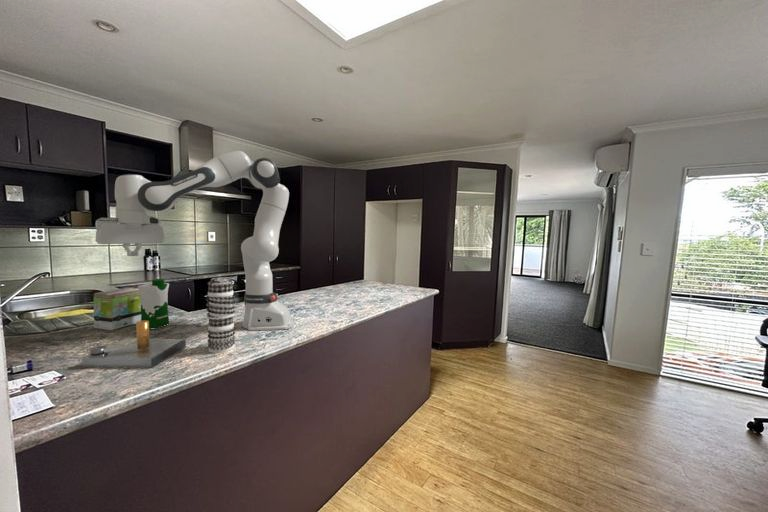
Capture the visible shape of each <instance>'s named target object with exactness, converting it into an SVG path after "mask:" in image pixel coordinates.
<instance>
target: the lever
mask: <svg viewBox="0 0 768 512" xmlns="http://www.w3.org/2000/svg"><path fill="white" fill-rule="evenodd" d="M135 326H136V327H135V330H136V339H137V344H130V345H121V346H112V347H107V346H106V345H104V346H103V345H99V346H94V347H92V348H90V350H89V352H90V353H89V354H90V355H99V354H103V353H105V352H112V351H121V350H129V349H146V348H149V347H150V339H151V338H150V329H149V321H148V320H144V321H138V322H136V324H135Z"/></svg>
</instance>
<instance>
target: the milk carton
mask: <svg viewBox="0 0 768 512" xmlns="http://www.w3.org/2000/svg"><path fill="white" fill-rule="evenodd" d="M169 287H170V283H167V282H166V283H165V279H163V278H162V279H161V278H157V279H152V281H151V283H146V284H140V285H137V288H138V289H139V292H140V296H141V321H144V320H148V321H149V328H155V329H154V330H157V329H156V328H158V327H160V328H162V327H161V326H163V327H165V326H164V325H166V326H168V325H167V324H169V325H170V319H169V318H170V317H169V303H168V301H169V300H168V293H169ZM158 329H159V328H158Z"/></svg>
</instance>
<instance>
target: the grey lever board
mask: <svg viewBox="0 0 768 512" xmlns="http://www.w3.org/2000/svg"><path fill="white" fill-rule="evenodd" d="M149 339H150V347H149V348H146V349H129V350H121V351H112V352H105V353H103V354H99V355H90V353H89V354H87V355H84V356H82V360H81V361H82V368H129V369H131V368H137V369H138V368H141V369H143V368H145V369H146V368H149V369H150V368H154V367H156V366H157V365H159V364H160V363H162V362H164V361H165V360H166V359H169V358H170V357H172V356H173V355H175V354H177V353H178V352H180V351H181V350H183V349H185V348H187V347H186V346H187V340H186V339H185V338H180V339H179V338H149ZM130 344H137V338H124V339H121V340H119V341H117V342H115V343H113V344H110V345H107V346H106V347H112V346H121V345H130Z"/></svg>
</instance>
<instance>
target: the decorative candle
mask: <svg viewBox="0 0 768 512" xmlns="http://www.w3.org/2000/svg"><path fill="white" fill-rule="evenodd" d="M233 283H234V281H233V280H232V279H231V278H229V277H225V276H222V277H219V276H218V277H214V278H211V279H210V281H209V282H207V287H208V289H207V290H208V291H207V295H206V297H205V301H206V302H207V303H206V305H205V306H206V308H205V309H206V311H207V314H206V317H207V318H208V330H207V338H208V339H207V343H208V344H207V347H208V348H207V351H208V352H210V353H214V354H218V353H225V352H228V351H231V350H234V348H235V347H236V345H235V344H236V340H235V339H236V336H235V334H236V331H235V330H236V327H234V326H235V322H234V316H235V313H236V311H235V310H234V309H235V308H236V306H235V305H234V304H235V303H236V301H235V299H236V296H234V290H233V287H234V285H233Z"/></svg>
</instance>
